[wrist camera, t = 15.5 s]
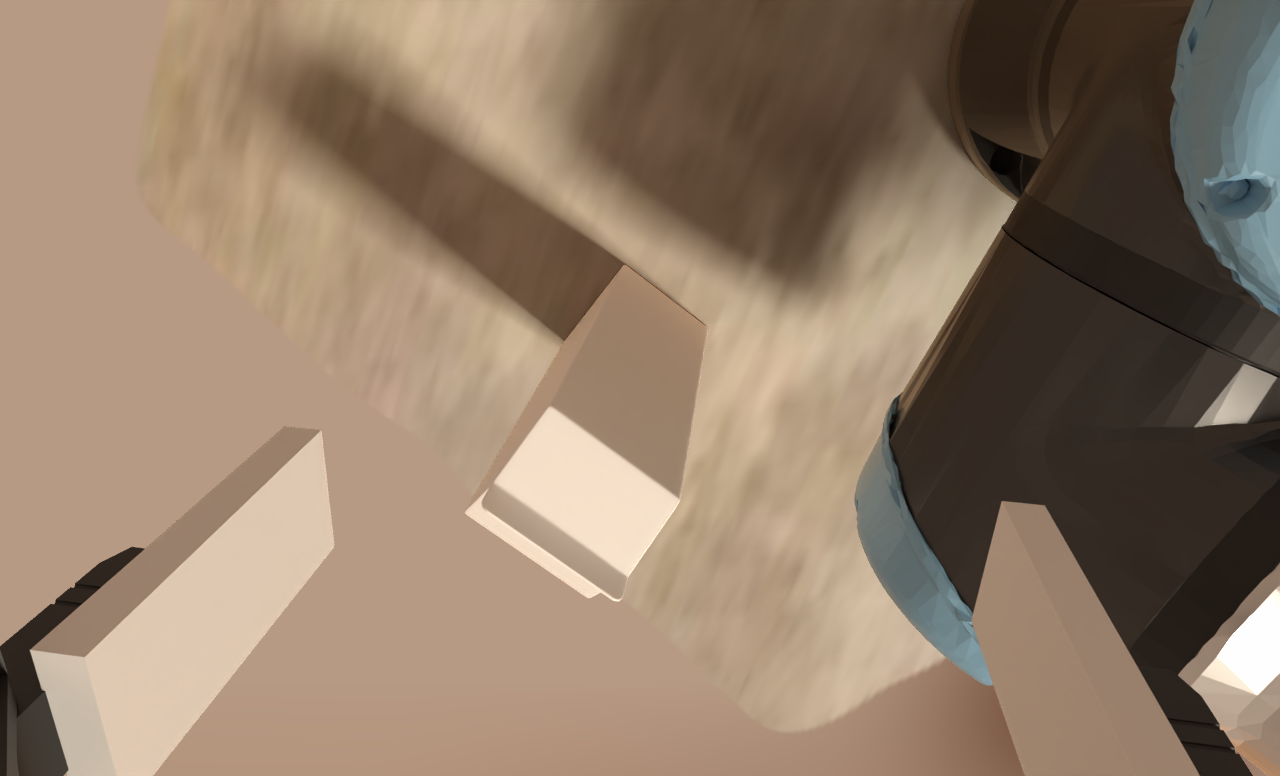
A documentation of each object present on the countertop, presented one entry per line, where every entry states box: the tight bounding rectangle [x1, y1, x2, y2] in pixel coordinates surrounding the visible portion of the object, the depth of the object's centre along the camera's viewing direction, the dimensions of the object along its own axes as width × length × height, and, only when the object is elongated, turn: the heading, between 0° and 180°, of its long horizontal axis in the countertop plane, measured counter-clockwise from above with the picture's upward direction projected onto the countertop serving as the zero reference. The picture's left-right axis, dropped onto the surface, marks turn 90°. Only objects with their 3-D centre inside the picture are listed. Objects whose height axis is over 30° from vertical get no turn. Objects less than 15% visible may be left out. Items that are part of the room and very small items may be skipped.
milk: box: [464, 265, 708, 601], centre depth 39 cm, size 6×6×22 cm
